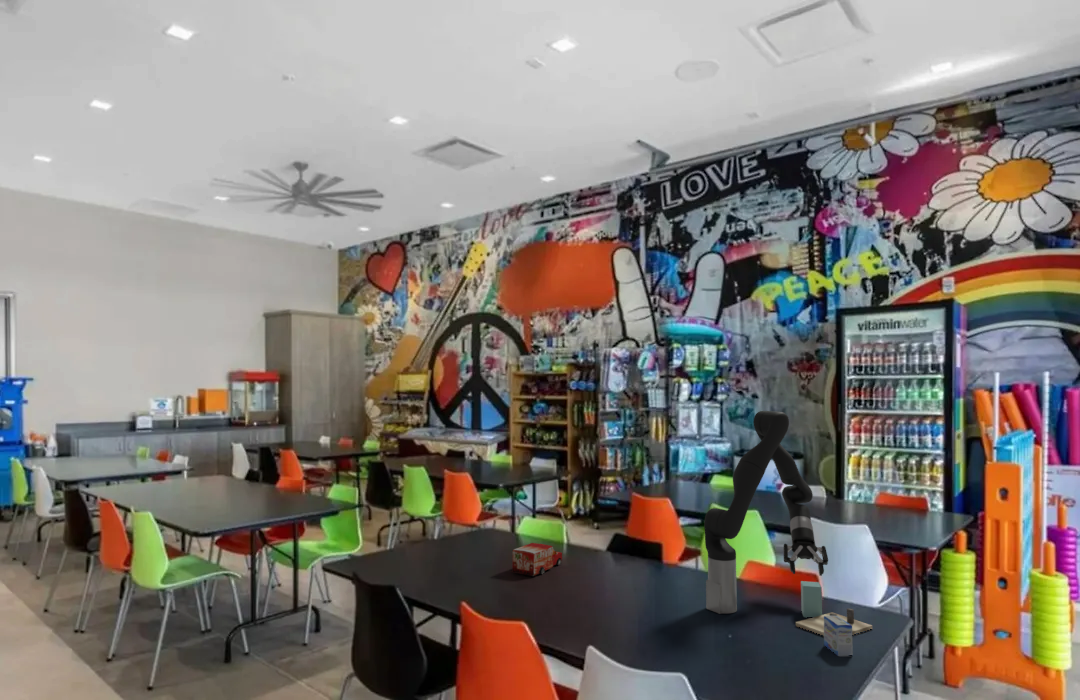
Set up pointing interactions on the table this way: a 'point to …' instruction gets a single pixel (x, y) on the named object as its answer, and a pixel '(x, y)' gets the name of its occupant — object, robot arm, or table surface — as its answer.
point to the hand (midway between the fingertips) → (807, 573)
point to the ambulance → (534, 559)
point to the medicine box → (838, 635)
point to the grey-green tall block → (811, 599)
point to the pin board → (820, 624)
